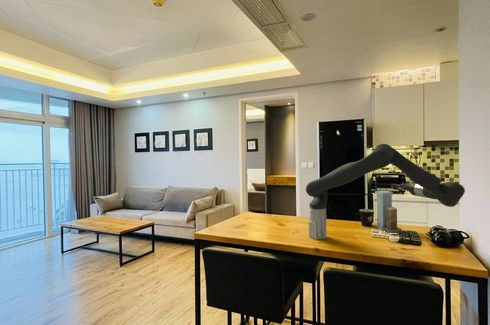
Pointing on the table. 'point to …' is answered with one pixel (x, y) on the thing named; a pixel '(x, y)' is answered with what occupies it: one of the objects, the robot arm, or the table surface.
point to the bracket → (391, 230)
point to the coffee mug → (366, 217)
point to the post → (383, 207)
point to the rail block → (391, 217)
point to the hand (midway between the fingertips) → (399, 185)
